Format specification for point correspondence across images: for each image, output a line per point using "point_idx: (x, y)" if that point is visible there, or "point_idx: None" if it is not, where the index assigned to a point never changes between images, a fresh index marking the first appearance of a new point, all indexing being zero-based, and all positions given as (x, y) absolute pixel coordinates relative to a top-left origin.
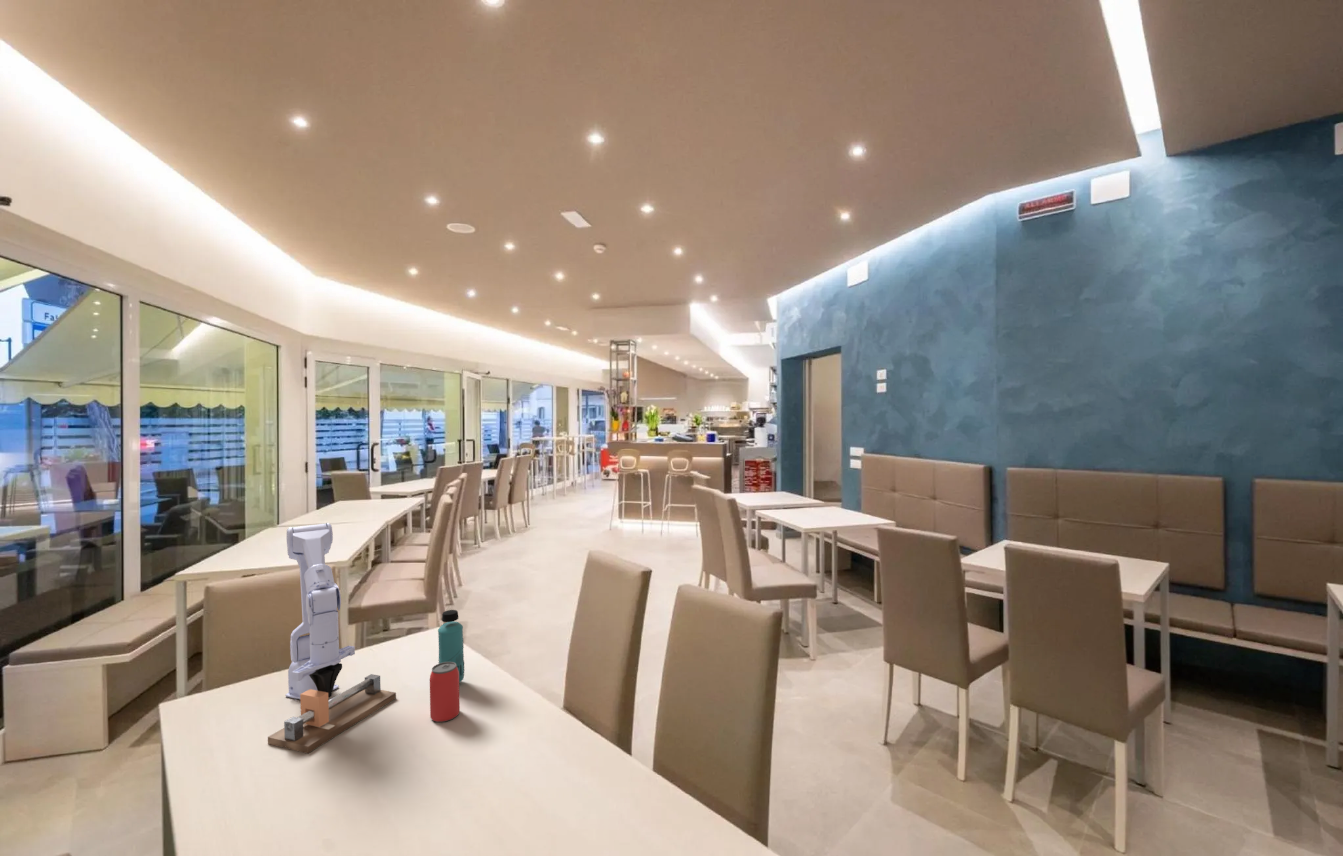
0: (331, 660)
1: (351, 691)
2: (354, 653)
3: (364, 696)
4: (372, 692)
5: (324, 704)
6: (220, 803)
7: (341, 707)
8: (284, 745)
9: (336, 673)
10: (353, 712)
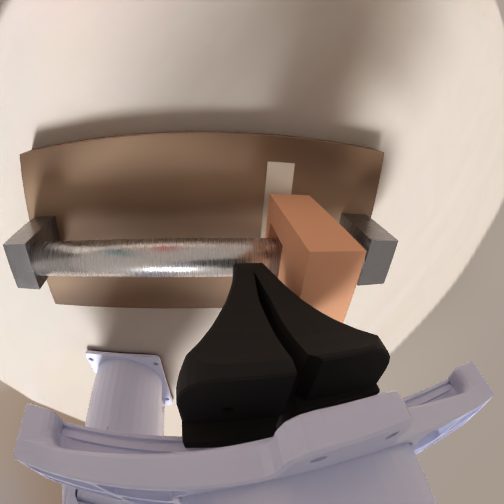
0: (372, 461)
1: (120, 250)
2: (27, 408)
3: (76, 237)
4: (53, 226)
5: (315, 225)
6: (481, 193)
7: None
8: None
9: (239, 337)
10: (167, 174)
